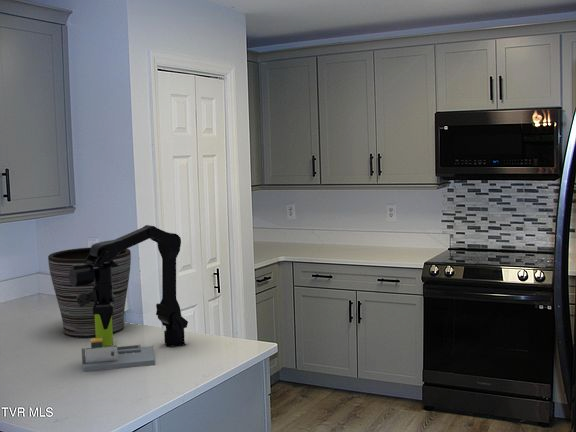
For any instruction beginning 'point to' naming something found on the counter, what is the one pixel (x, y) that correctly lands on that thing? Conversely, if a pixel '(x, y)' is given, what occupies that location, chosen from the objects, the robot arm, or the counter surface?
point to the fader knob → (96, 342)
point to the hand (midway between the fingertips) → (105, 328)
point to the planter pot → (82, 318)
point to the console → (123, 358)
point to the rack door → (101, 354)
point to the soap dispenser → (103, 331)
